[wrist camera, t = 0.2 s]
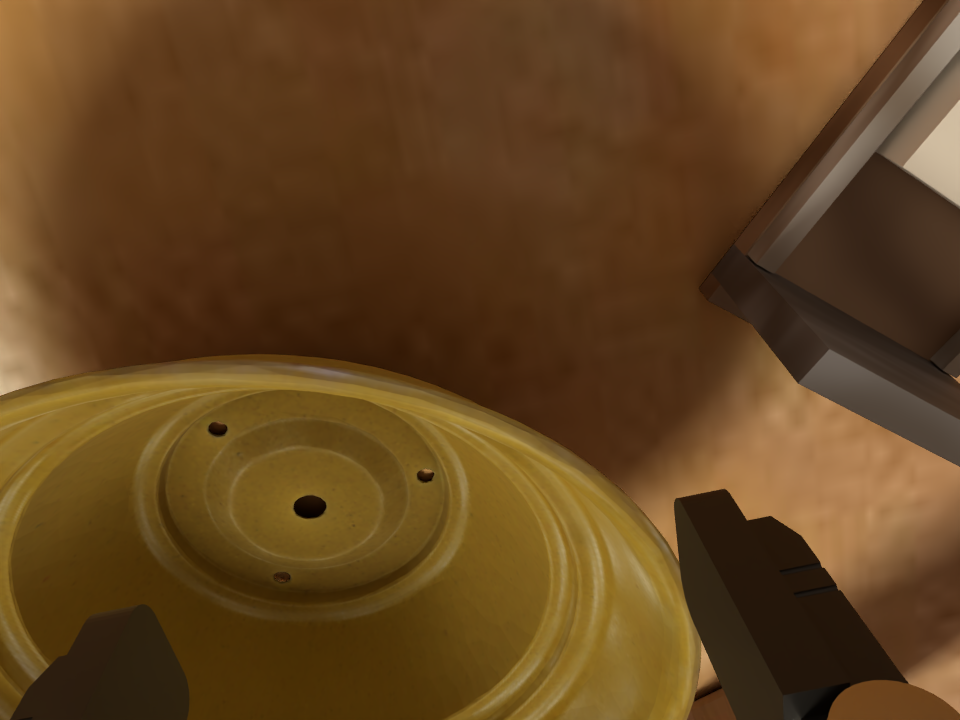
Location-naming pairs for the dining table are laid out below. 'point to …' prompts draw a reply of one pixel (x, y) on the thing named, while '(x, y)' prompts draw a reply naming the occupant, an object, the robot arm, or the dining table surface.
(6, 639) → the planter bowl
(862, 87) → the rail base
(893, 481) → the dining table surface
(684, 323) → the dining table surface
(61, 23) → the dining table surface
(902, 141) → the carriage
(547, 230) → the dining table surface
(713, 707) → the block
